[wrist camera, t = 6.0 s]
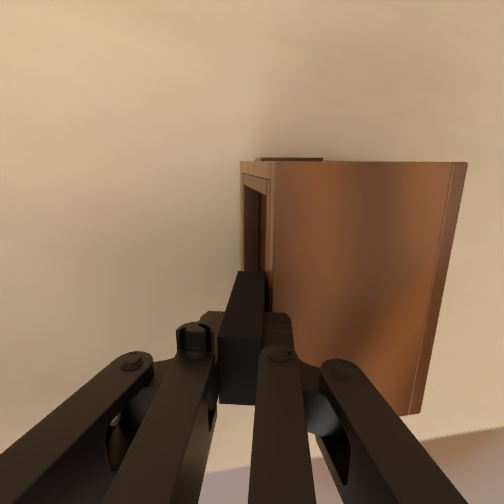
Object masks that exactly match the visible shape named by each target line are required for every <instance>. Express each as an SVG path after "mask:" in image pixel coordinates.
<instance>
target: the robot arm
mask: <svg viewBox="0 0 504 504" xmlns="http://www.w3.org/2000/svg"><path fill="white" fill-rule="evenodd" d="M265 273H266V272H252V271H238V273H237V276H236V280H235V283H234V286H233V289H232V292H231V295H230V298H229V301H228V305H227V308H226V311H225V312H223V311H208V312H206V313H205V314H204V315H202V316H201V318H200V320H199V322H190V323H186V324H184V325H182V326H180V327H179V328H178V329H177V330H176V339H177V353H176V355H175V357H174V358H172V359H168V360H164V361H157V362H153V358H152V356H151V355H150V354H149V353H146V352H141V351H135V352H129V353H126V354H124V355H121V356H120V357H118V358H116V359H115V360H114V361H113V362H111V363H110V364H109V365H108V366H106V367H105V368H104V369H103V370H102V371H100V372H99V373H98V374H97V375H96V376H94V377H93V378H92V379H91V380H90V381H88V382H87V383H86V384H85V385H84V386H82V387H81V388H80V389H79V390H78V391H76V392H75V393H74V394H73V395H72V396H70V397H69V398H68V399H67V400H65V401H64V402H63V403H62V404H61V405H59V406H58V407H57V408H56V409H55V410H53V411H52V412H51V413H50V414H49V415H47V416H46V417H45V418H44V419H43V420H41V421H40V422H39V423H38V424H37V425H35V426H34V427H33V428H32V429H31V430H29V431H28V432H27V433H26V434H25V435H23V436H22V437H21V438H20V439H18V440H17V441H16V442H15V443H14V444H12V445H11V446H10V447H9V448H8V449H6V450H5V451H4V452H3V453H2V454H0V504H198V500H199V496H200V491H201V486H202V482H203V477H204V473H205V468H206V464H207V459H208V454H209V450H210V445H211V441H212V436H213V432H214V427H215V422H216V418H217V400H218V395H219V404H236V405H255V415H254V428H253V441H252V455H251V468H250V481H249V482H250V483H249V494H248V504H316V497H315V490H314V481H313V474H312V465H311V457H310V449H309V441H308V433H307V432H310V433H313V434H315V436H316V441H317V443H318V446H319V448H320V450H321V453H322V455H323V457H324V459H325V462H326V464H327V466H328V469H329V471H330V473H331V476H332V478H333V480H334V482H335V485H336V487H337V490H338V492H339V494H340V496H341V499H342V501H343V503H344V504H468V503H467V502H466V500H465V499H464V498H463V497H462V495H461V494H460V493H459V492H458V490H457V489H456V488H455V487H454V485H453V484H452V483H451V481H450V480H449V479H448V478H447V477H446V475H445V474H444V473H443V472H442V470H441V469H440V468H439V466H438V465H437V464H436V463H435V461H434V460H433V459H432V458H431V456H430V455H429V454H428V453H427V451H426V450H425V449H424V448H423V446H422V445H421V444H420V443H419V441H418V440H417V439H416V438H415V436H414V435H413V434H412V433H411V431H410V430H409V429H408V428H407V426H406V425H405V424H404V423H403V421H402V420H401V419H400V417H399V416H398V415H397V414H396V412H395V411H394V410H393V409H392V407H391V406H390V405H389V404H388V402H387V401H386V400H385V399H384V397H383V396H382V395H381V394H380V392H379V391H378V390H377V389H376V387H375V386H374V385H373V384H372V382H371V381H370V380H369V379H368V377H367V376H366V375H365V374H364V372H363V371H362V370H361V369H360V368H359V367H358V366H357V365H356V364H354V363H352V362H350V361H347V360H343V359H330V360H326V361H325V362H323V363H322V364H321V367H316V366H312V365H309V364H307V363H305V362H303V361H302V360H300V359H299V358H298V355H297V353H296V352H295V347H294V339H293V330H292V322H291V318H290V317H289V316H288V315H287V314H286V313H277V312H265ZM116 416H117V418H116V419H115V417H116ZM114 419H115V420H114ZM113 420H114V421H113ZM112 421H113V422H112ZM111 422H112V423H111Z"/></svg>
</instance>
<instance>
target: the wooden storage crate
mask: <svg viewBox="0 0 504 504" xmlns="http://www.w3.org/2000/svg"><path fill="white" fill-rule="evenodd" d="M467 166H468V163H467V162H344V161H323V158H255V161H241V162H240V170H241V271H252V272H266V273H265V312H277V313H286V314H287V315H288V316H289V317H290V318H291V322H292V330H293V339H294V347H295V352H296V353H297V355H298V358H299V359H300V360H302V361H303V362H305V363H307V364H309V365H312V366H316V367H321V364H322V363H323V362H325V361H326V360H330V359H343V360H347V361H350V362H352V363H354V364H356V365H357V366H358V367H359V368H360V369H361V370H362V371H363V372H364V374H365V375H366V376H367V377H368V379H369V380H370V381H371V382H372V384H373V385H374V386H375V387H376V389H377V390H378V391H379V392H380V394H381V395H382V396H383V397H384V399H385V400H386V401H387V402H388V404H389V405H390V406H391V407H392V409H393V410H394V411H395V412H396V414H397V415H398V416H406V415H411V414H419V413H420V411H421V406H422V401H423V395H424V390H425V385H426V380H427V374H428V369H429V364H430V359H431V354H432V348H433V343H434V338H435V333H436V328H437V322H438V317H439V312H440V307H441V301H442V296H443V291H444V286H445V281H446V275H447V270H448V265H449V260H450V255H451V249H452V244H453V239H454V234H455V229H456V223H457V218H458V213H459V208H460V202H461V197H462V192H463V187H464V182H465V176H466V171H467Z"/></svg>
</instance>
